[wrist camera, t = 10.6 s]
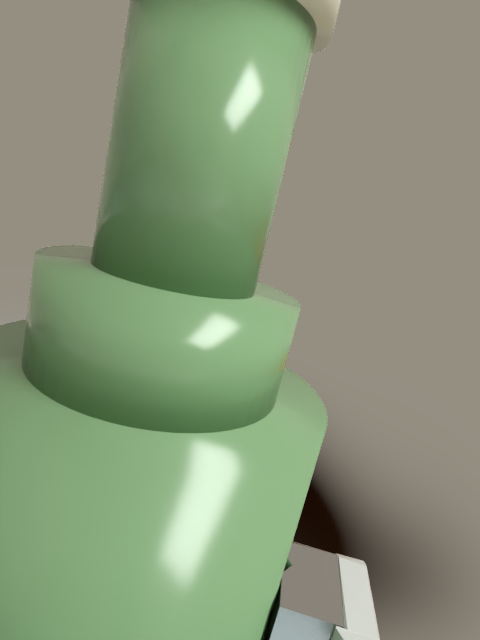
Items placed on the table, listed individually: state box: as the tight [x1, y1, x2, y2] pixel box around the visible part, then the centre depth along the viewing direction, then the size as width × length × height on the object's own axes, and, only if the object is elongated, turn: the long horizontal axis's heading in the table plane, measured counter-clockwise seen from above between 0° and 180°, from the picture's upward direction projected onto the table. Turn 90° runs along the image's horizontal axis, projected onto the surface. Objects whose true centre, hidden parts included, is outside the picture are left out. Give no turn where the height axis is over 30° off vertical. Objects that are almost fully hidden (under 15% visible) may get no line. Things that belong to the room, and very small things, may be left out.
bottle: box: [0, 0, 341, 640], centre depth 8 cm, size 5×5×18 cm
